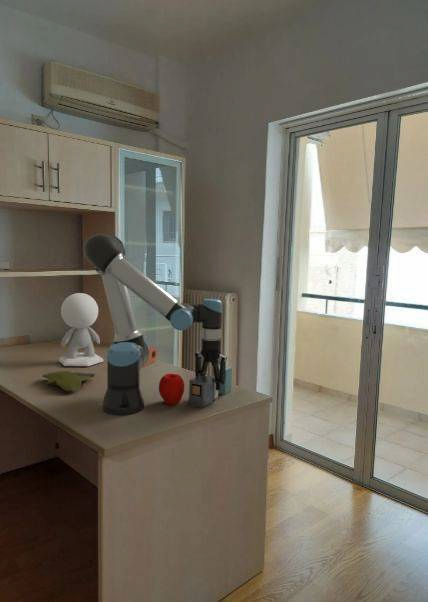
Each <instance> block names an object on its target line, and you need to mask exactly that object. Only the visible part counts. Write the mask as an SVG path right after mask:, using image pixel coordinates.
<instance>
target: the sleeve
mask: <svg viewBox="0 0 428 602" xmlns="http://www.w3.org/2000/svg"><path fill="white" fill-rule="evenodd" d="M188 381H189V382H188V383H189V384H188V385H189V386H188V387H189V390H188V405H189V406H193V407H197V408H202V409H204V408H206V407H207V406H209V405H211V404H213V402H214V401H213V400H214V399H213V378H209V377H204V376H197V377H196V376H195V377H193V378H190V379H189V380H188ZM195 384H197V385H201V386H202V394H201V395H196V394H192V390H193V385H195Z"/></svg>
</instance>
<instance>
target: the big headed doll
mask: <svg viewBox="0 0 428 602" xmlns="http://www.w3.org/2000/svg"><path fill="white" fill-rule="evenodd" d="M60 315H61V318H62V321H64V323H65V324H66V325H67V326H69V327H71V328H70V329H69V330H68V331H67V332H66V333H65V334H64V336H63V337H62V339H61V342H60V346H61V348H65V347H66V345H68V348H67V351H66V352H67V353H66V355H63V356H60V357H59V358H58V360H57V361H58V362H59V363H60V364H61V365H63V366H64V367H91V366H93V365H94V366H95V365H96V364H99V363H103V362H104V361H105V360H104V359H103V358H102V357H101V356H100V355H98V354H97V353H95V352H96V351H95V348H94V343H95V342H96V344H97V345H100V344H101V343H100V342H101V340H100V339H101V337H100V336H99V334H98V333H97V332H96V331H95V330H94V329H93V328H92V327H90V326H92V325H93V324H94V323H95V322H96V320H97V319H98V317H99V306H98V303H97V302H96V300H95V299H94V297H92V296H91V295H90V294H87V293H84V292H83V293H82V292H77V293H73V294H70V295H69V296H67V297H65V299H64V301H63V302H62V304H61V306H60ZM79 349H83V352H79Z"/></svg>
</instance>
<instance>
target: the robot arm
mask: <svg viewBox="0 0 428 602" xmlns="http://www.w3.org/2000/svg"><path fill="white" fill-rule="evenodd" d="M83 245H84V246H83V253H84V257H85V258H86V261H88V262H89V263H90V264H91V265H93V267H94V268H95V272H96V274H98V275H100V276H101V278H102V283H103V288H104V292H105V295H106V299H107V305H108V308H109V312H110V316H111V321H112V325H113V329H114V332H115V337H114V338H113V344H111V345H110V346H109V347H108V349H107V354H106V359H107V360H106V361H107V362H106V363H107V370H106V371H107V373H106V374H107V377H106V378H107V381H106V382H107V385H106V387H107V389H106V391H105V394H104V397H103V400H102V408H101V409H102V411H103V412H104V413H107V414H108V415H109V414H110V415H114V416H116V415H117V416H128V415H134V414H137V413H140V412H141V411H143V410H144V409H145V398H143V394H142V390H141V386H140V383H141V381H140V380H141V379H140V378H141V377H140V375H141V369H142V368H143V367H142V366H143V365H144V364H145V363H146V362H147V360H148V357H149V348H148V346H149V345H148V343H147V342H146V341H145V339H144V335H143V332H141V331H140V330H139V329H138V326H137V321H136V317H135V313H134V310H133V305H132V300H131V297H130V292H129V291H131V292H132V293H133V294H134V295H136V297H138V298H140V299H141V300H142V301H144V302H145V303H146V304H147V305H149V307H151V308H152V309H153V310H155V311H156V312H157V313H159V314H160V315H161V316H163V317H164V318H165V319H166V320H167V321H168V322H170V325H171V326H172V328H173V329H175V330H176V331H185V330H187V329H188V328H191V326H192V325H193V324H201V338H202V339H201V345H200V346H201V350H200V351H196V352H195V353H194V356H195V357H194V358H195V374H194V375H195V377H197V376H204V377H205V376H206V373H207V371H208V366H209V363H210V364H211V366H212V371H213V370H214V376H215V382H214V387H213V400H214V399H217V398H218V397H219V394H218V390H220V382H222V381H224V380H225V369H226V365H227V361H228V360H227V359H228V356H227V355H223V354H222V353H221V347H222V346H221V344H222V340H221V338H222V322H223V320H222V317H223V306H222V305H223V302H222V300H221V299H218V298H204V299H202V303H184V302H179V301H178V300H177V299H176V298H174V297H173V296H172V295H171V294H169V292H167V290H165V289H163V288H162V287H161V286H159V285H158V284H157V283H156V282H154V281H153V280H152V279H151V278H149V276H146V274H144V273H143V272H142V271H141V270H139V269H138V268H137V267H135V266H134V265H133V264H132V263H130V262H129V261H128V260H127V259H125V256H126V247H125V244H124V242H123V240H121V239H120V238H119V237H117V236H115V235H113V234H108V233H106V234H104V233H96V234H93V235H91V236H89V237H88V238H87V239H86V241H85V243H84V244H83ZM202 359H203V360H202ZM219 361H220V362H219ZM218 365H220V371H219V366H218Z"/></svg>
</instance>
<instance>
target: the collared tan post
mask: <svg viewBox="0 0 428 602" xmlns="http://www.w3.org/2000/svg"><path fill="white" fill-rule="evenodd" d="M205 377H209V378H213V387H214V382H215V376H214V375H213V374H212V375H211V376H210V375H205ZM192 394H196V395H201V394H202V386H201V385H197V384H195V385H193V390H192Z"/></svg>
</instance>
